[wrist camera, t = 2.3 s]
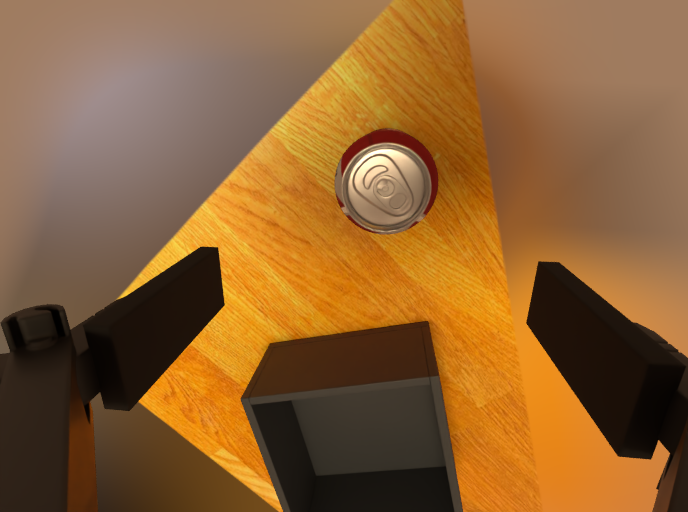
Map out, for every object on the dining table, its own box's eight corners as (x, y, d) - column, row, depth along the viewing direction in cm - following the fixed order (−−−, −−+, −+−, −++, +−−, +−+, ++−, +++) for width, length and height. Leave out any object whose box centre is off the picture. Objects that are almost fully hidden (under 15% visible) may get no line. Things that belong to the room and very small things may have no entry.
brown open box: (427, 320, 39) (439, 375, 30) (453, 463, 45) (468, 542, 36) (269, 343, 42) (240, 399, 33) (313, 474, 48) (297, 549, 39)
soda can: (388, 111, 32) (388, 104, 21) (439, 168, 33) (466, 191, 22) (334, 166, 34) (308, 187, 23) (384, 218, 36) (382, 262, 24)
